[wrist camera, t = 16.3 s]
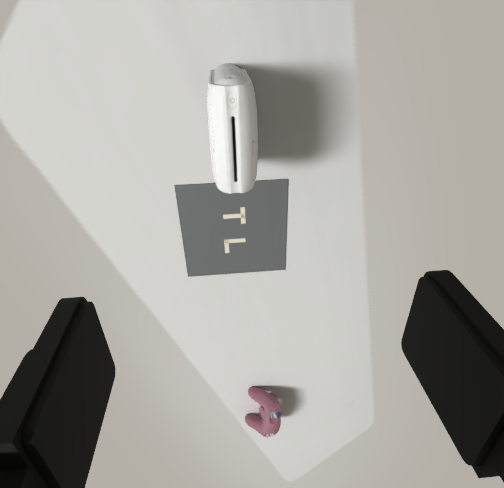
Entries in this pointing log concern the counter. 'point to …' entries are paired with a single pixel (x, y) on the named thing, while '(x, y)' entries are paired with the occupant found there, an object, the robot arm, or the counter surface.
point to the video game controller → (265, 413)
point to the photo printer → (232, 128)
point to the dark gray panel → (233, 227)
